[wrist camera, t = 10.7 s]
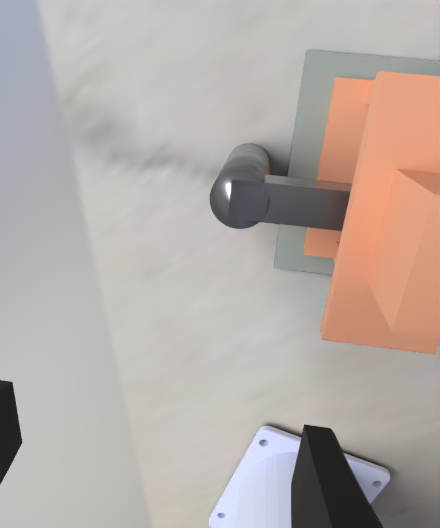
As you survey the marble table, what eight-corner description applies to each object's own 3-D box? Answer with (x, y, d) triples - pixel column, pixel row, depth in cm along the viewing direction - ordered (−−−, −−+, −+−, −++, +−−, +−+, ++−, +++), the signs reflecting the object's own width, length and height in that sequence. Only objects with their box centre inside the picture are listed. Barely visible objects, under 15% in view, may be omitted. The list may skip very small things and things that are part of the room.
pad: (457, 63, 15) (461, 62, 15) (394, 279, 19) (396, 282, 18) (305, 50, 15) (306, 49, 15) (273, 265, 19) (273, 267, 19)
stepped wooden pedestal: (420, 84, 15) (629, 83, 6) (375, 258, 18) (475, 420, 9) (334, 77, 15) (421, 65, 7) (303, 249, 18) (335, 400, 10)
